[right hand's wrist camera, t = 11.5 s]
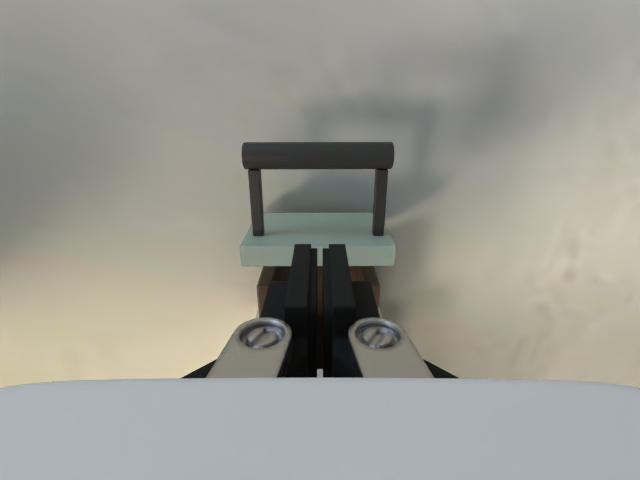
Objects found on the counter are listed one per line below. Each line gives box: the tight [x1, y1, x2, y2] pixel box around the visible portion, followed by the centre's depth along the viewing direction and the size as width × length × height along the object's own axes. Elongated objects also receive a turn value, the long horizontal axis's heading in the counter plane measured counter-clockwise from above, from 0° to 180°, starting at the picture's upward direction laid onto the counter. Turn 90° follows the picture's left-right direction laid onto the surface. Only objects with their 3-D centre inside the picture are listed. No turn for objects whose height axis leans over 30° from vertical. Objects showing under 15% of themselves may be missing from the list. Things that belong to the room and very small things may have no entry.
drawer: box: [240, 142, 396, 369], centre depth 24 cm, size 18×8×6 cm, turn 0°
